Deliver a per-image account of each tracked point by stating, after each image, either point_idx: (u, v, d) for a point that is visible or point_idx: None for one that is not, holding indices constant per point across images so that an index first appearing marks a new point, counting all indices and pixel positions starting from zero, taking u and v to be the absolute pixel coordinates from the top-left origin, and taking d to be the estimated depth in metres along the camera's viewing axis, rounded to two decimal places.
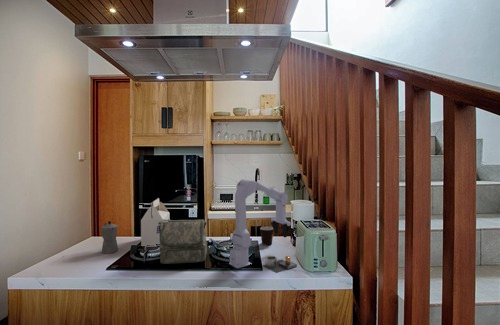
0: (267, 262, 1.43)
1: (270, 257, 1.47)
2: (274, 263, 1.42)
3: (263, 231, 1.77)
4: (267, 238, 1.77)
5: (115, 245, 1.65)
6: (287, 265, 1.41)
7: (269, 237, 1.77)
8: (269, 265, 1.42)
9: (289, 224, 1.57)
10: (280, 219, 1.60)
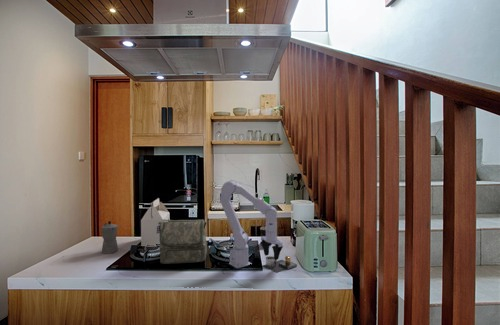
0: (267, 262, 1.43)
1: (270, 257, 1.47)
2: (274, 263, 1.42)
3: (263, 231, 1.77)
4: None
5: (115, 245, 1.65)
6: (287, 265, 1.41)
7: None
8: (269, 265, 1.42)
9: (280, 245, 1.39)
10: (270, 239, 1.42)
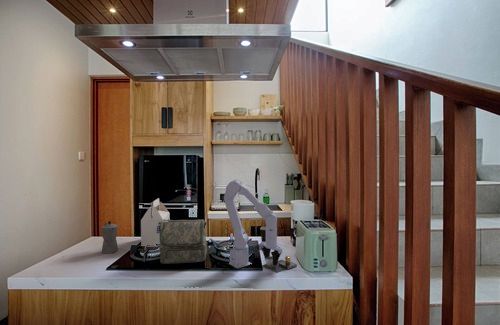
0: (267, 262, 1.43)
1: (270, 257, 1.47)
2: None
3: (263, 231, 1.77)
4: None
5: (115, 245, 1.65)
6: (287, 265, 1.41)
7: None
8: (269, 265, 1.42)
9: (280, 251, 1.39)
10: (270, 245, 1.42)
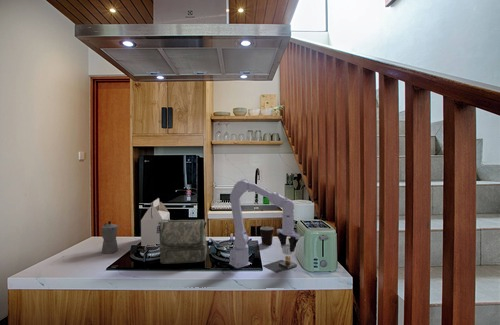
0: (284, 249, 1.42)
1: (287, 245, 1.45)
2: None
3: (263, 231, 1.77)
4: (267, 238, 1.77)
5: (115, 245, 1.65)
6: (287, 265, 1.41)
7: (269, 237, 1.77)
8: (286, 252, 1.41)
9: (298, 237, 1.37)
10: (287, 231, 1.40)
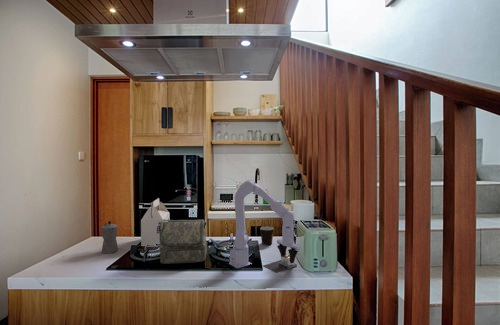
0: (284, 260, 1.42)
1: (286, 255, 1.46)
2: None
3: (263, 231, 1.77)
4: (267, 238, 1.77)
5: (115, 245, 1.65)
6: None
7: (269, 237, 1.77)
8: (286, 263, 1.41)
9: (298, 249, 1.37)
10: (287, 242, 1.41)
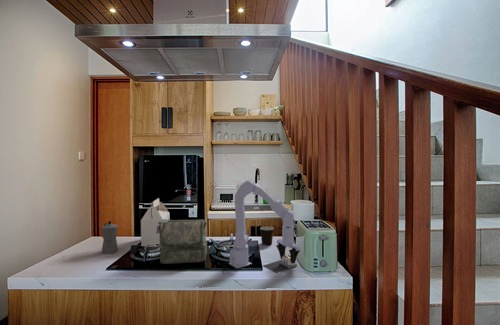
0: (284, 260, 1.42)
1: None
2: None
3: (263, 231, 1.77)
4: (267, 238, 1.77)
5: (115, 245, 1.65)
6: None
7: (269, 237, 1.77)
8: (286, 264, 1.41)
9: (298, 249, 1.37)
10: (287, 242, 1.40)
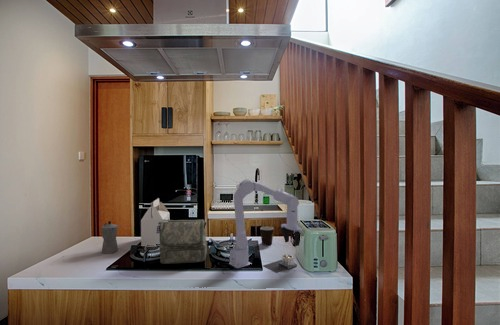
0: (284, 260, 1.42)
1: None
2: (291, 262, 1.41)
3: (263, 231, 1.77)
4: (267, 238, 1.77)
5: (115, 245, 1.65)
6: None
7: (269, 237, 1.77)
8: (286, 264, 1.41)
9: None
10: (292, 226, 1.46)
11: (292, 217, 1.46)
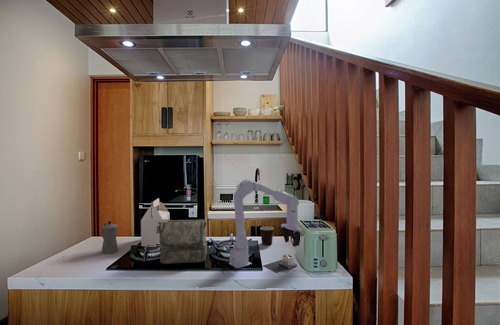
0: (284, 260, 1.42)
1: None
2: (291, 262, 1.41)
3: (263, 231, 1.77)
4: (267, 238, 1.77)
5: (115, 245, 1.65)
6: None
7: (269, 237, 1.77)
8: (286, 264, 1.41)
9: None
10: (292, 226, 1.46)
11: (292, 217, 1.46)
